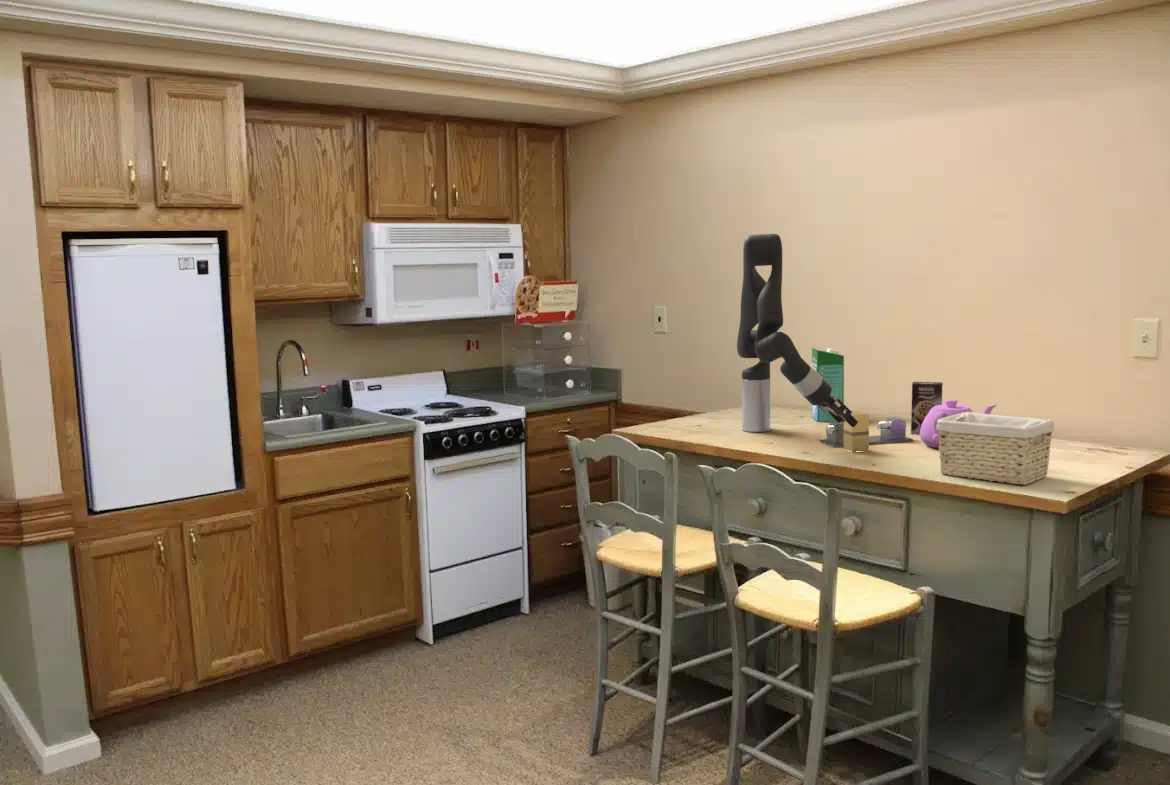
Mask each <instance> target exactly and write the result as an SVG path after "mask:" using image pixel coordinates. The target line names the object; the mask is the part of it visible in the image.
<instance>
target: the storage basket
mask: <svg viewBox="0 0 1170 785" xmlns="http://www.w3.org/2000/svg"><path fill="white" fill-rule="evenodd" d="M1054 423H1055V422H1054V421H1053V419H1043V418H1042V419H1041V418H1032V417H1023V416H1022V417H1021V416H1011V415H1010V416H1007V415H997V414H991V413H990V414H983V413H980V412H979V413H978V412H973V413H972V412H965V413H964V412H963V413H960V414H956V415H952V416H948V417H945V418H942V419H938V420H937V426H936V429H937V430H938V433H939V444H940V445H939V448H938V451H939V460H940V463H939V465H940V473H941V475H945V474H948V475H954V476H953V477H959V476H961V477H960V478H964V477H968V478H967V479H969V478H975V479H974V480H980V479H981V480H982V479H983V481H986V480H989V481H988V482H992V481H997V482H996V483H1004V484H1011V485H1012V484H1013V485H1022V486H1023V485H1025V486H1026V485H1030V484H1031V483H1034V482H1037V481H1040V480H1041V479H1043V478H1045V477H1046V476H1048V470H1049V469H1048V468H1049V467H1048V466H1049V461H1050V453H1051V449H1050V448H1051V442H1052V439H1053V437H1052V436H1053V432H1055V425H1054ZM948 475H947V476H948ZM1005 482H1006V483H1005Z"/></svg>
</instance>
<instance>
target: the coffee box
mask: <svg viewBox="0 0 1170 785" xmlns="http://www.w3.org/2000/svg"><path fill="white" fill-rule="evenodd" d="M943 384H944V383H943V382H942V381H939V382H935V381H913V382H912V384H911V414H910V418H911V419H910V420H911V423H910V434H911V435H912V434H913V435H920V429H921V426H922V423H923V421H924V419H925V417H926V416H927V414H928V413H929V411H930V410H931V409H932V408H933V407H934V406H937V405H943Z"/></svg>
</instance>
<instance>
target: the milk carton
mask: <svg viewBox="0 0 1170 785" xmlns="http://www.w3.org/2000/svg"><path fill="white" fill-rule="evenodd" d="M844 366H845V356H844V355H842V354H839V350H838V349H833V348H830V347H827V350H823V349H818V348H814V347H812V348H811V368H812V369H814V370H815V371H816V372H817V373H818V374H819V375H820V376H821V377H822V378H823V379H824V380H825V381H826V382H827V383H828V384H829V385H830V386H831V387H832V392H831V395H830V396H831V397H835V398H836V399H839V400H840V401H841V402H842V403H843V404H844V405H845V402H844V401H845V398H844V396H845V395H844V394H845V391H844V390H845V388H844V387H845V381H844V380H845V372H844V371H845V368H844ZM843 413H845V411H843ZM811 418H812V419H813V420H814V421H816V422H817V423H821V422H822V423H826V422H834V421H836V420H835V419H834V418H833V417H832V416H831V414H830V415H829V414H827V412H826V413H825V412H823V410H822V409H821V408H820V407H819V406H818V405H812V404H811ZM841 422H844V419H843V420H842V421H841Z"/></svg>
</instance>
